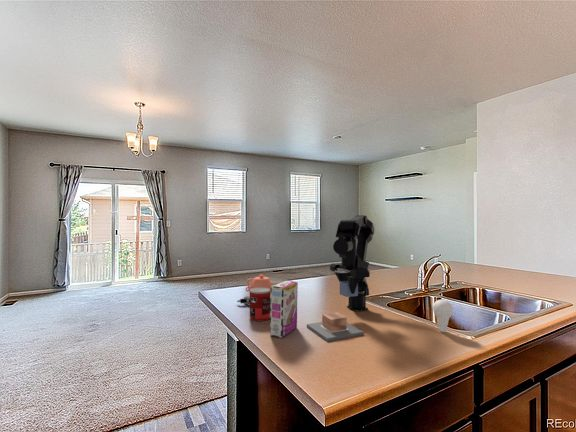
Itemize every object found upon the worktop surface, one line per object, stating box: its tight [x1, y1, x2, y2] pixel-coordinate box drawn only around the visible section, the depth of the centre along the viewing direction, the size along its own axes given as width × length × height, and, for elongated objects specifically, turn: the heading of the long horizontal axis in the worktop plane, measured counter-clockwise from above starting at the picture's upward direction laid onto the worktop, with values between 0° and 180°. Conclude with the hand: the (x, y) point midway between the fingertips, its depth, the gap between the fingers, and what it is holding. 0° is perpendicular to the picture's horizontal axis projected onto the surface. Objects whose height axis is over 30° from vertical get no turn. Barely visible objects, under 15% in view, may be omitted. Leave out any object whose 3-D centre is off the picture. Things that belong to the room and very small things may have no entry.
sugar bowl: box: [245, 274, 273, 295], centre depth 155 cm, size 12×14×10 cm
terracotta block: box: [321, 312, 348, 332], centre depth 107 cm, size 6×6×4 cm
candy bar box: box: [269, 280, 299, 339], centre depth 106 cm, size 11×5×16 cm, turn 152°
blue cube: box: [339, 281, 358, 298], centre depth 121 cm, size 5×5×5 cm
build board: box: [306, 321, 364, 342], centre depth 107 cm, size 14×14×1 cm
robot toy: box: [236, 294, 271, 306], centre depth 138 cm, size 12×4×15 cm
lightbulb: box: [432, 299, 454, 333], centre depth 105 cm, size 6×6×11 cm
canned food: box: [249, 288, 271, 322], centre depth 120 cm, size 8×8×11 cm
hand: (348, 292), depth 121 cm, fingers closed on blue cube, 5 cm apart
